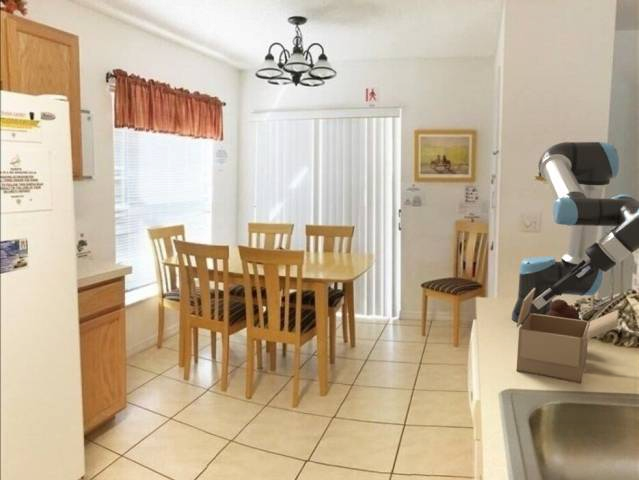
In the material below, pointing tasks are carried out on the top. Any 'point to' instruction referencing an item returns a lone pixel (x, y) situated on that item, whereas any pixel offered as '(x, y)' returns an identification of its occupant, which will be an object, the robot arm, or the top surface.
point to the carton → (553, 347)
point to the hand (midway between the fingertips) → (535, 305)
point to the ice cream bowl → (562, 310)
